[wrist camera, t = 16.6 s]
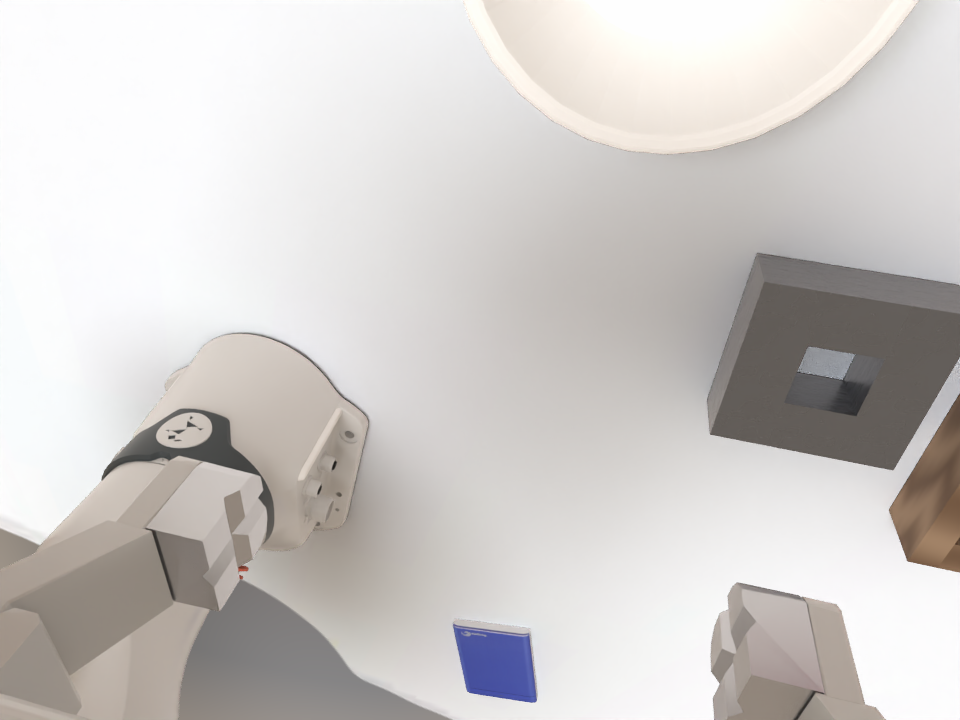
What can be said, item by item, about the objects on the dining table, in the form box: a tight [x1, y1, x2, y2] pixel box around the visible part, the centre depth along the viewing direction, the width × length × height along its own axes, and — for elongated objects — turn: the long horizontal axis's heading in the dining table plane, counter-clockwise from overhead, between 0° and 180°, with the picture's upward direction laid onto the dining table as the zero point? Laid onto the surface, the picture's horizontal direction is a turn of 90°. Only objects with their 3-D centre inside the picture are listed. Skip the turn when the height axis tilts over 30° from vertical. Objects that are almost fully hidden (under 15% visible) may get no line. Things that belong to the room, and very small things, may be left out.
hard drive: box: [453, 619, 537, 703], centre depth 75 cm, size 2×8×12 cm
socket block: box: [707, 253, 960, 470], centre depth 44 cm, size 12×12×4 cm
